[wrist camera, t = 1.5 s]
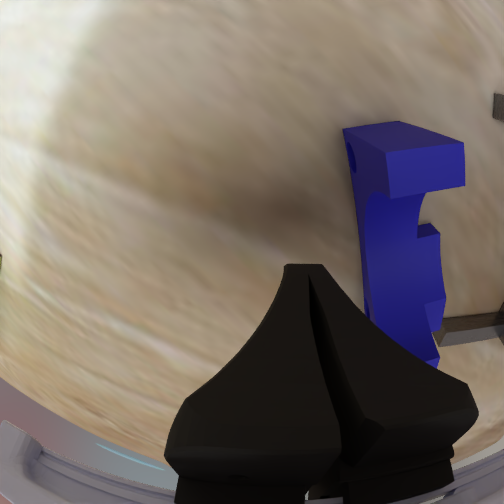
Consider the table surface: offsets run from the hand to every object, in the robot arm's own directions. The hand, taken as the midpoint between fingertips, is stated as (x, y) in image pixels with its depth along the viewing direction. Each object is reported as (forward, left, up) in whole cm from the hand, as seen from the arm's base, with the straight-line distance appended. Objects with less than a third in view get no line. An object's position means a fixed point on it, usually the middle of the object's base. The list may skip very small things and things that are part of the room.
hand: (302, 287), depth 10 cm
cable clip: (-6, 0, -6) cm, 8 cm away
